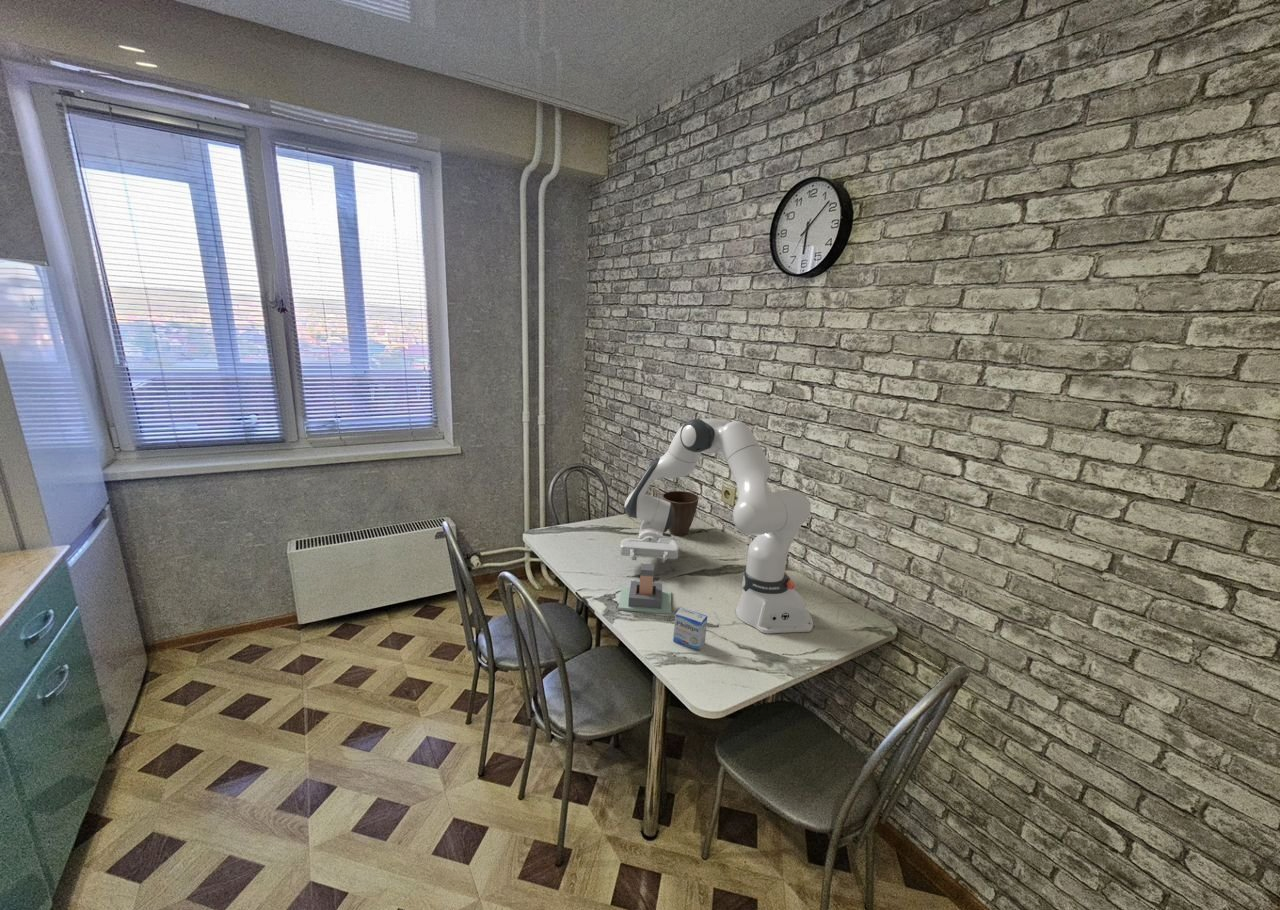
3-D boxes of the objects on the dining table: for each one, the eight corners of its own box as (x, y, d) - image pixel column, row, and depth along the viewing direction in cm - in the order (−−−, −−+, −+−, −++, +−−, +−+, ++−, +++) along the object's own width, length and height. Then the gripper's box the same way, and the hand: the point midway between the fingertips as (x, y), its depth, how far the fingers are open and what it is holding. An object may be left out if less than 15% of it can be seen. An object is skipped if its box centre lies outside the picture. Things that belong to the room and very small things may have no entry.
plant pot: (656, 536, 201) (658, 499, 197) (665, 523, 215) (667, 488, 211) (692, 542, 197) (695, 505, 193) (698, 528, 211) (701, 493, 207)
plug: (652, 595, 155) (654, 564, 152) (651, 602, 151) (653, 570, 148) (639, 594, 155) (641, 563, 152) (638, 601, 151) (640, 569, 148)
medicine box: (672, 641, 134) (674, 614, 132) (679, 633, 138) (681, 606, 136) (699, 651, 131) (702, 623, 128) (705, 642, 135) (707, 614, 132)
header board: (670, 592, 159) (671, 582, 158) (670, 613, 147) (671, 602, 146) (621, 589, 159) (622, 578, 158) (618, 609, 148) (618, 598, 147)
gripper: (621, 531, 176) (617, 548, 162) (678, 535, 175) (679, 552, 161) (620, 547, 177) (616, 565, 164) (677, 551, 176) (677, 570, 163)
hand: (648, 559), depth 163 cm, fingers open, 8 cm apart
